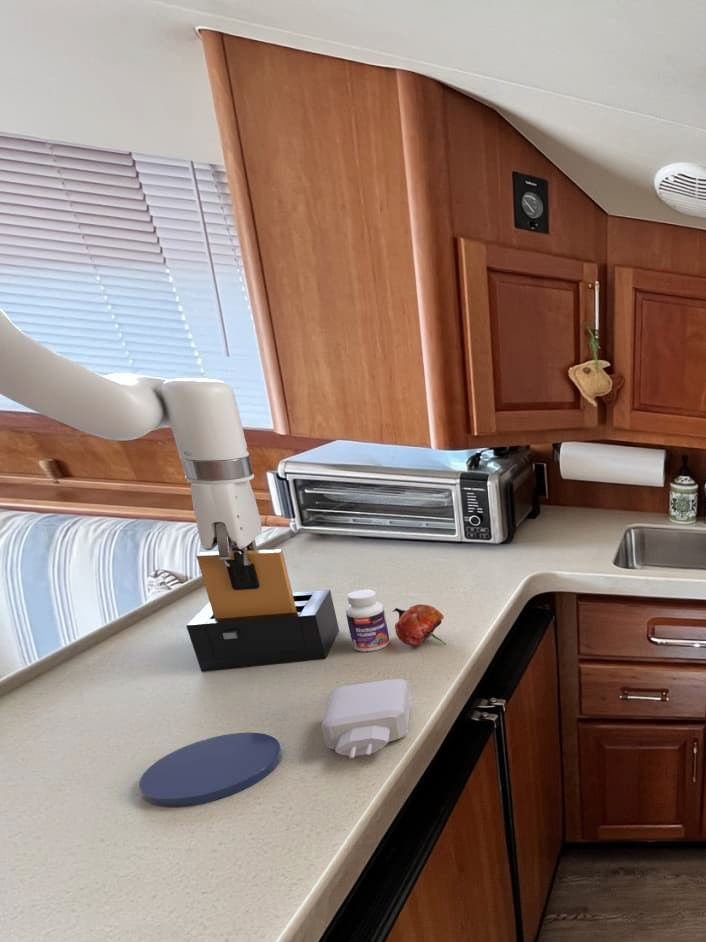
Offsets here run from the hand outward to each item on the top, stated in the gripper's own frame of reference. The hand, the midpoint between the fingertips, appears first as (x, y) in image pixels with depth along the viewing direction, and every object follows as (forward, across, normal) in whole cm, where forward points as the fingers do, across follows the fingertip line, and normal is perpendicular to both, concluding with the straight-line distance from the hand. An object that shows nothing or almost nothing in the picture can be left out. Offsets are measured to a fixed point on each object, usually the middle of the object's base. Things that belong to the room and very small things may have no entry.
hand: (248, 585), depth 99 cm
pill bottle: (+13, 0, +14) cm, 19 cm away
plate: (+13, +32, +2) cm, 34 cm away
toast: (+7, 0, 0) cm, 7 cm away
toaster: (+13, -2, 0) cm, 13 cm away
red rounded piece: (+13, 0, +22) cm, 26 cm away
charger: (+13, +30, +18) cm, 37 cm away
